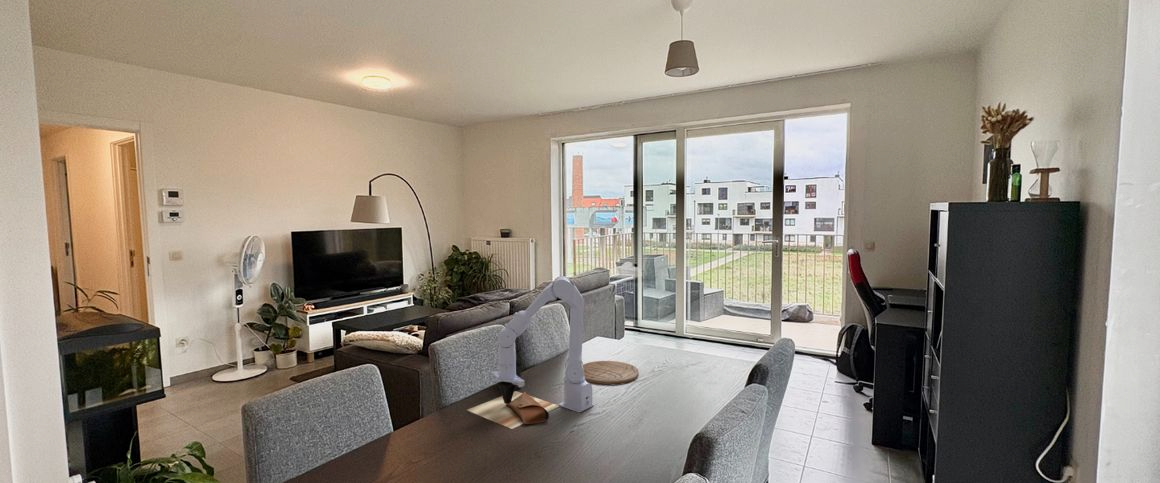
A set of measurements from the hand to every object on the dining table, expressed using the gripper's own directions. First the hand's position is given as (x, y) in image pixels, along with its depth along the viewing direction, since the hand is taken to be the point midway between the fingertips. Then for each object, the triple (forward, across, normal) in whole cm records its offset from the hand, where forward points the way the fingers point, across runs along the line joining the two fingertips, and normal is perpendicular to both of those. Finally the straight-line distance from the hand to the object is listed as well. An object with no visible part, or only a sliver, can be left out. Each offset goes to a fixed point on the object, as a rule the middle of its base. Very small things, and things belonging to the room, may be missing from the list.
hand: (507, 402), depth 162 cm
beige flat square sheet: (+1, +3, 0) cm, 3 cm away
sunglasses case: (+1, +9, 0) cm, 9 cm away
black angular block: (+2, -15, +15) cm, 21 cm away
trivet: (+2, +7, +48) cm, 49 cm away
